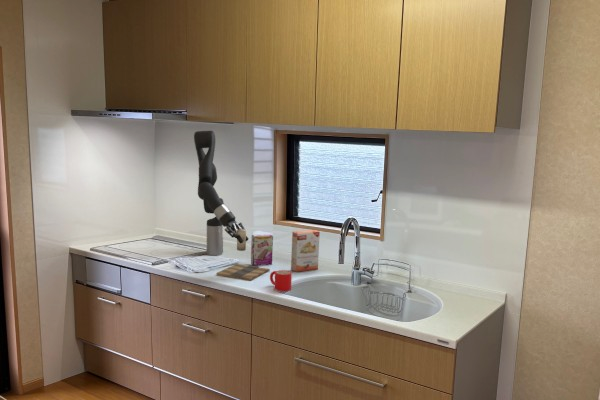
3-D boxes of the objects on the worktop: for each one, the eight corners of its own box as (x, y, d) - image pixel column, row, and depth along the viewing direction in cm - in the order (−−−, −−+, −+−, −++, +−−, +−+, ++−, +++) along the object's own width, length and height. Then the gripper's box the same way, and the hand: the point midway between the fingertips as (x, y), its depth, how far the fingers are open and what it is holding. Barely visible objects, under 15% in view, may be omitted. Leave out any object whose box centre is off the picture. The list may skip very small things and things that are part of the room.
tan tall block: (239, 248, 272) (240, 229, 271) (247, 249, 270) (247, 230, 269) (235, 250, 268) (235, 230, 267) (242, 251, 266) (243, 231, 265)
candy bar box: (252, 266, 289) (253, 236, 287) (250, 263, 294) (251, 234, 291) (272, 264, 293) (273, 235, 290) (270, 262, 297) (270, 233, 295)
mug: (274, 283, 259) (275, 267, 258) (294, 288, 252) (295, 272, 251) (264, 287, 253) (264, 270, 252) (284, 292, 246) (284, 275, 245)
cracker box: (296, 272, 279) (297, 233, 276) (290, 269, 284) (291, 231, 281) (318, 269, 286) (320, 231, 283) (312, 266, 291) (314, 229, 288)
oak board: (236, 266, 288) (236, 263, 288) (269, 271, 280) (269, 268, 280) (216, 275, 270) (216, 272, 270) (251, 280, 262) (251, 278, 262)
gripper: (221, 212, 263) (242, 239, 260) (236, 208, 276) (256, 234, 273) (212, 222, 266) (232, 248, 263) (227, 217, 279) (247, 243, 276)
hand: (244, 241), depth 268 cm, fingers closed on tan tall block, 4 cm apart
